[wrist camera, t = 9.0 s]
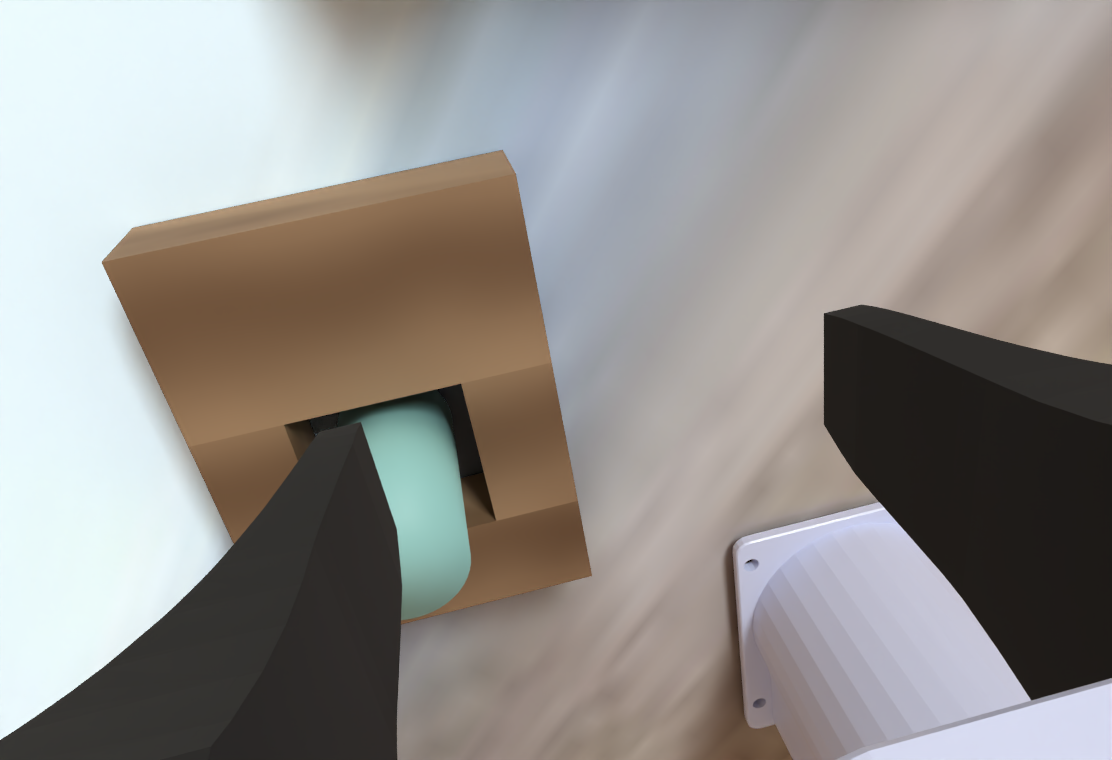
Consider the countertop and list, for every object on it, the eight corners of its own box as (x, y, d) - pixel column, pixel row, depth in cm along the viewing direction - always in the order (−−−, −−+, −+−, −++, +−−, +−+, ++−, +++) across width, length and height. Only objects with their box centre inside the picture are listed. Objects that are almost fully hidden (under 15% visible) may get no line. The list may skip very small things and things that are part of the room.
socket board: (575, 525, 26) (591, 575, 24) (294, 595, 25) (285, 653, 23) (502, 149, 20) (515, 173, 18) (132, 227, 19) (101, 262, 17)
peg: (463, 458, 24) (483, 600, 19) (355, 483, 24) (345, 635, 19) (438, 364, 22) (453, 491, 17) (323, 390, 22) (303, 527, 17)
